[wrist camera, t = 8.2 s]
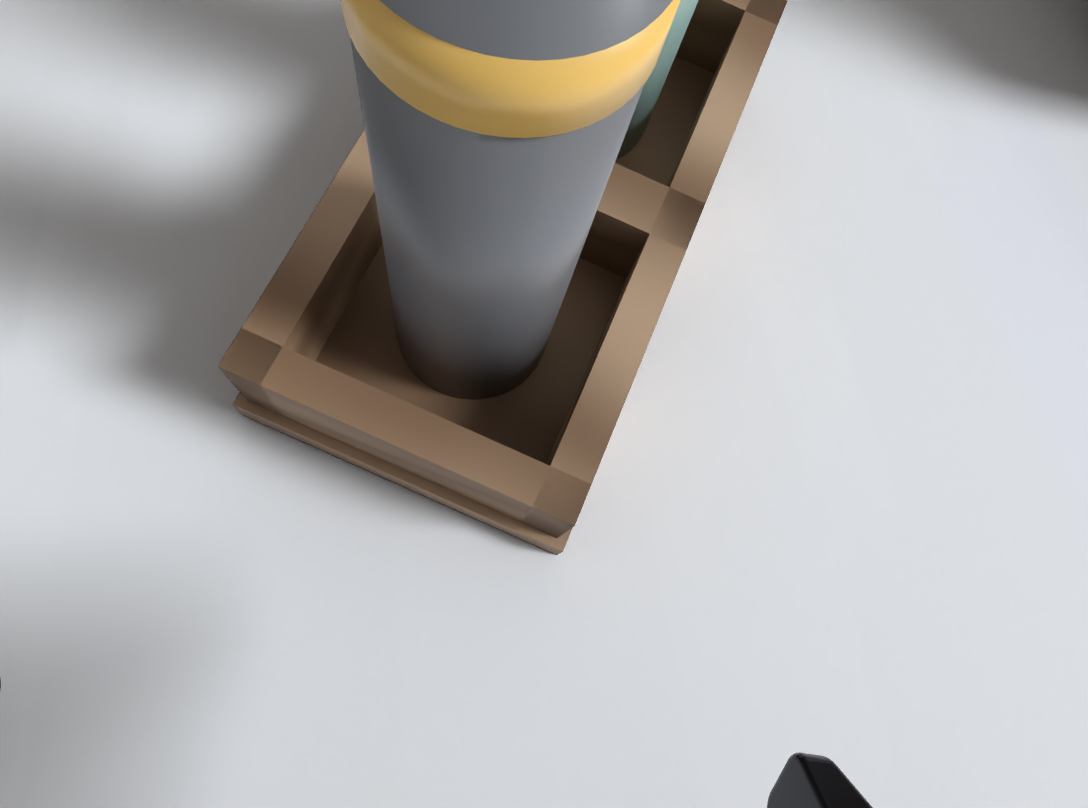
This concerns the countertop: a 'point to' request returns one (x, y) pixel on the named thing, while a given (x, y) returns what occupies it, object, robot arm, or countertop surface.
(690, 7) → the plug teal
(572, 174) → the plug charcoal
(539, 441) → the slot rack
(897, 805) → the countertop surface
